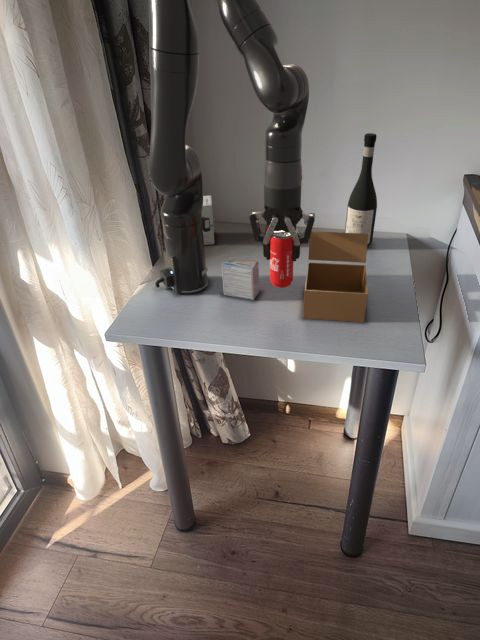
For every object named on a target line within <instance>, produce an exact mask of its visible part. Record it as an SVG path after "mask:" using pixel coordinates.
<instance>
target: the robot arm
mask: <svg viewBox="0 0 480 640" xmlns="http://www.w3.org/2000/svg"><path fill="white" fill-rule="evenodd" d="M147 3H148V4H147V5H148V7H147V8H148V51H149V52H148V54H149V55H148V56H149V76H150V78H149V79H150V113H151V114H150V115H151V116H150V117H151V127H150V128H151V129H150V130H151V131H150V142H149V143H150V144H149V156H148V174H149V178H150V182H151V184H152V186H153V187H154V189H155V190H157V192H158V193H159V194H160V195H162V196H164V200H163V203H162V206H161V209H160V217H161V225H162V231H163V239H164V247H165V249H163V253H162V254H163V259H164V265H165V268H163V269H160V270H159V277H160V278H159V279H158V280H156V281H155V283H154V284H155V287H156V288H158V289H159V288H160V283H163V285H164V286H165V287H166V288H167V289H169V288H170V289H171V290H173V292H174V293H175V294H176V295H181V294H195V293H199V292H201V291H203V290H204V289H207V287H208V284H209V280H208V273H207V272H208V271H209V270H208V267H207V261H206V250H205V249H206V248H205V245H204V238H203V226H202V207H203V196H204V185H203V184H204V182H203V168H202V164H201V161H200V157H199V156H198V154H197V152H196V151H195V149H193V148H192V147H191V146H190V145H187V129H188V123H189V119H190V115H191V111H192V108H193V104H194V101H195V96H196V93H197V89H198V83H199V75H200V73H199V71H200V37H199V31H198V28H197V24H196V22H195V17H194V14H193V11H192V8H191V4H190V1H189V0H147ZM214 3H215V6H216V10H217V14H218V17H219V19H220V22H221V24H222V26H223V28H224V30H225V32H226V33H227V36H228V37H229V39H230V40H231V42H232V44H233V46H234V47H235V49H236V51H237V53H238V54H239V56H240V57H241V58H242V60H243V62H244V65H245V69H246V72H247V75H248V78H249V80H250V81H249V82H250V83H251V87H252V89H253V91H254V94H255V96H256V98H257V100H258V101H259V102H260V104H261V105H262V106H263V107H264V108H265V109H266V110H267V111H269V112H270V113H273V114H272V120H271V122H270V124H269V125H268V126H267V128H266V130H265V133H264V165H263V203H264V204H263V208H262V210H260V211H256V210H251V212H250V214H249V218H248V219H249V223H250V226H251V230H252V235H253V238H254V241H255V242H260V243H261V244H262V249H263V251H262V252H263V253H262V255H263V257H264V258H265V259H266V261H270V238H271V236H272V234H273V231H285V232H289V233H290V235H291V237H292V239H293V241H294V245H293V262H297V260H299V259H300V256H301V245H304V244H305V245H306V244H308V243H309V242H310V235H311V231H313V228H314V224H315V220H316V214H315V213H314V212H311V213H307V212H304V211H303V209H302V180H303V165H302V148H303V147H302V145H303V143H302V142H303V139H302V135H303V129H304V125H305V121H306V118H307V117H306V116H307V112H308V107H309V99H310V83H309V78H308V75H307V73H306V71H305V70H304V69H303V68H302V67H301V66H299V65H298V64H295V63H288V64H284V65H283V63H282V62H281V61H282V60H281V59H280V57H279V54H278V53H277V50H276V49H277V48H278V45H279V38H278V35H277V33H276V30H275V28H274V26H273V25H272V23H271V22H270V20H269V18H268V16H267V14H266V13H265V11H264V9H263V8H262V6H261V4H260V2H259V1H258V0H214ZM262 218H263V220H264V221H265V222H266V224H268V225H269V227H268V229H267V232H266V234H265V233H262V230H261V226H260V223H261V220H262ZM301 220H303V224H304V225H305V229H304V234H303V235H300V233H299V229H298V228H299V227H298V224H299V222H300V221H301Z"/></svg>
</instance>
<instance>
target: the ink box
mask: <svg viewBox="0 0 480 640" xmlns="http://www.w3.org/2000/svg"><path fill="white" fill-rule="evenodd" d="M212 201H213V199H212V195H203V207H202V226H203V238H204V246H205V245H206V246H207V245H209V246H210V245H215V243H216V242H215V228H214V215H213V214H214V213H213V202H212Z"/></svg>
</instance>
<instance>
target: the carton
mask: <svg viewBox="0 0 480 640" xmlns="http://www.w3.org/2000/svg"><path fill="white" fill-rule="evenodd" d="M366 267H367V266H366V264H353V263H352V264H349V263H331V262H330V263H329V262H311V261H308V262H307V267H306V276H305V283H304V290H303V291H304V293H303V295H304V296H303V315H302V319H307V320H308V319H309V320H321V321H322V320H323V321H337V322H338V321H339V322H352V323H353V322H354V323H364V322H365V318H366V309H367V304H368V296H369V289H368V281H367V269H366Z"/></svg>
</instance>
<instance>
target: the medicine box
mask: <svg viewBox="0 0 480 640" xmlns="http://www.w3.org/2000/svg"><path fill="white" fill-rule="evenodd" d="M259 267H260V266H259V260H255V259H250V258H243V257H235V256H227V258H226V259H225V260H224V261H223V262H222V263H221V274H222V287H223V289H222V290H223V295H224V296H226V297H227V296H229V297H234V298H241V299H246V300H252V301H254V300H255V299H256V297H257V296H258V294H259V293H260V268H259Z"/></svg>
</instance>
